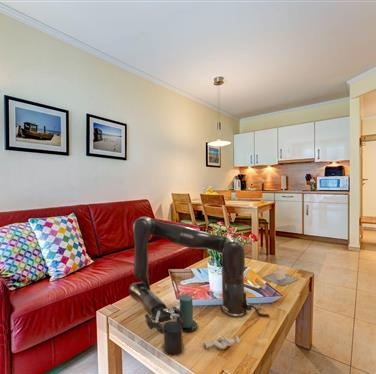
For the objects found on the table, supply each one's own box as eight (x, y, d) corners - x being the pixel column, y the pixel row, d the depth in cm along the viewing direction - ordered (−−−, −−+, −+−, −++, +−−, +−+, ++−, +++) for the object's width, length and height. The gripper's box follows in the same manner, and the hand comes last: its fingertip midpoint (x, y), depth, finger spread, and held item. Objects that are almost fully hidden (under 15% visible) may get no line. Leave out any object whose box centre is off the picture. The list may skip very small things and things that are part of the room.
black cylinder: (180, 341, 88) (179, 320, 88) (184, 354, 82) (184, 331, 81) (163, 342, 88) (162, 321, 88) (166, 355, 81) (165, 333, 81)
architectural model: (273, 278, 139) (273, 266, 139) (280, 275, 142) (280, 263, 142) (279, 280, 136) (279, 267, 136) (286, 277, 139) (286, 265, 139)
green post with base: (193, 319, 102) (192, 292, 101) (199, 331, 93) (198, 302, 93) (174, 320, 101) (173, 293, 101) (179, 333, 93) (178, 303, 92)
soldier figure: (203, 343, 88) (231, 330, 89) (210, 358, 85) (239, 344, 86) (204, 340, 82) (234, 326, 83) (211, 355, 79) (242, 341, 80)
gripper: (138, 301, 97) (155, 323, 82) (168, 294, 102) (189, 313, 87) (139, 319, 97) (156, 344, 82) (169, 310, 102) (190, 332, 87)
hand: (173, 328), depth 85 cm, fingers open, 8 cm apart
